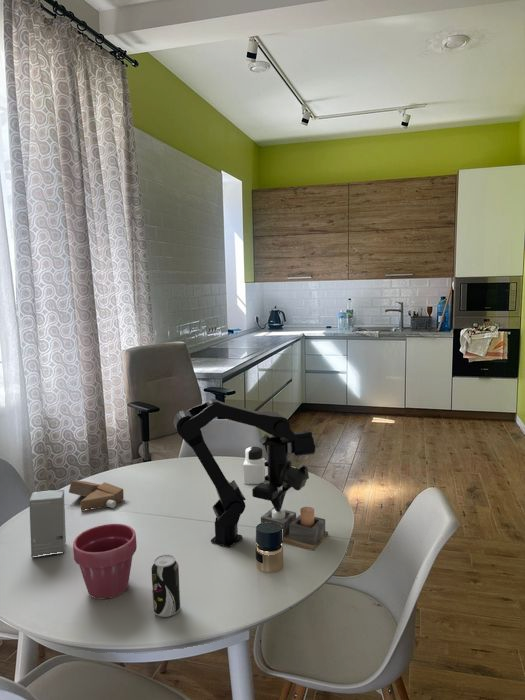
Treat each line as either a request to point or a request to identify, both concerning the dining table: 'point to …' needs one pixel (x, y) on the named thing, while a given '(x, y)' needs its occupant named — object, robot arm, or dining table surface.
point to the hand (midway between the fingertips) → (278, 511)
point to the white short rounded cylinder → (278, 514)
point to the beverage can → (165, 586)
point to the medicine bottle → (254, 466)
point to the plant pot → (105, 558)
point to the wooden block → (96, 494)
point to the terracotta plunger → (307, 516)
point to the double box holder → (298, 530)
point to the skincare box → (47, 522)
